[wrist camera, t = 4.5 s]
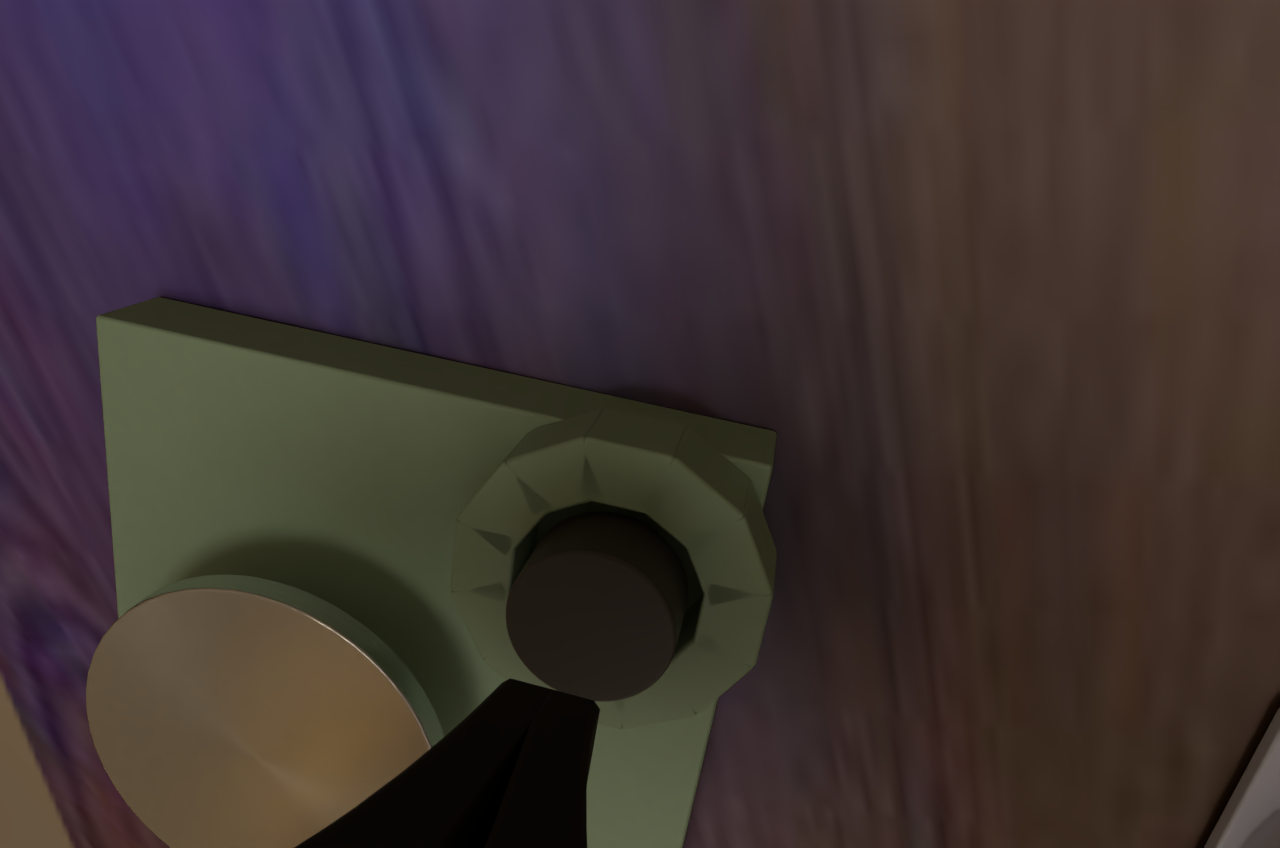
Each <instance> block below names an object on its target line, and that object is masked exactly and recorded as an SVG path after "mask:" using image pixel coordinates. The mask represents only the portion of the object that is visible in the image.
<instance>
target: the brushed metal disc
mask: <svg viewBox="0 0 1280 848" xmlns="http://www.w3.org/2000/svg"><path fill="white" fill-rule="evenodd" d="M86 710H87V716H88V722H89V728H90V731H91V735H92V738H93V741H94V745H95V748H96V750H97V753H98V755H99V757H100V759H101V762H102V764H103V766H104V768H105V770H106V772H107V774H108V775H109V777H110V779H111V781H112V782H113V784H114V786H115V788H116V789H117V790H118V792H119V793H120V795H121V796H122V797H123V799H124V800H125V802H126V803H127V804H128V806H129V807H130V808H131V809H132V810H133V812H134V813H135V814H136V815H137V816H138V817H139V819H140V820H141V821H142V822H143V823H144V824H145V825H146V826H147V827H148V828H149V829H150V830H151V831H152V832H153V833H154V834H155V835H156V836H157V837H158V838H159V839H161V840H162V841H163V842H164V843H166V844H167V845H168V846H169V847H170V848H294V847H296V846H297V845H299V844H300V843H302V842H304V841H305V840H307V839H308V838H310V837H312V836H313V835H315V834H316V833H318V832H319V831H321V830H322V829H324V828H325V827H327V826H328V825H330V824H331V823H333V822H334V821H336V820H337V819H339V818H340V817H342V816H343V815H345V814H346V813H347V812H349V811H350V810H352V809H353V808H355V807H356V806H357V805H359V804H360V803H361V802H363V801H364V800H365V799H367V798H368V797H369V796H371V795H372V794H373V793H375V792H376V791H377V790H379V789H380V788H381V787H383V786H384V785H385V784H387V783H388V782H389V781H391V780H392V779H393V778H395V777H396V776H397V775H399V774H400V773H401V772H403V771H404V770H405V769H406V768H408V767H409V766H410V765H411V764H412V763H414V762H415V761H416V760H417V759H418V758H420V757H421V756H422V755H423V754H424V753H426V752H427V751H428V750H429V749H430V748H432V747H433V746H434V745H435V744H436V743H438V742H439V741H440V740H441V739H442V738H443V737H444V733H443V729H442V726H441V724H440V721H439V719H438V717H437V714H436V712H435V710H434V707H433V705H432V703H431V702H430V700H429V698H428V697H427V695H426V693H425V691H424V690H423V688H422V686H421V685H420V683H419V682H418V680H417V679H416V678H415V676H414V675H413V674H412V672H411V671H410V670H409V668H408V667H407V666H406V664H405V663H404V662H403V661H402V660H401V659H400V658H399V657H398V656H397V655H396V653H395V652H394V651H393V650H392V649H391V648H390V647H389V646H388V645H387V644H386V643H385V642H384V641H383V640H381V639H380V638H379V637H378V636H377V635H376V634H375V633H373V632H372V631H371V630H370V629H369V628H368V627H366V626H365V625H364V624H362V623H361V622H359V621H358V620H357V619H355V618H354V617H352V616H351V615H350V614H348V613H347V612H345V611H343V610H342V609H340V608H338V607H336V606H335V605H333V604H331V603H329V602H328V601H326V600H324V599H322V598H320V597H317V596H315V595H313V594H311V593H308V592H306V591H304V590H302V589H299V588H296V587H293V586H290V585H287V584H284V583H280V582H277V581H274V580H269V579H264V578H258V577H253V576H244V575H230V574H222V575H206V576H200V577H195V578H190V579H185V580H181V581H178V582H175V583H173V584H170V585H167V586H165V587H162V588H161V589H159V590H157V591H155V592H154V593H152V594H150V595H149V596H147V597H145V598H144V599H143V600H141V601H140V602H139V603H137V604H136V605H135V606H133V607H132V608H131V609H129V610H128V611H127V612H126V613H125V614H123V615H122V616H121V617H120V618H119V619H118V620H116V621H115V622H114V623H113V625H112V626H111V627H110V628H109V630H108V631H107V632H106V633H105V635H104V636H103V638H102V640H101V641H100V643H99V645H98V647H97V649H96V651H95V653H94V655H93V658H92V662H91V665H90V668H89V671H88V678H87V686H86Z"/></svg>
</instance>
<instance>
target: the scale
mask: <svg viewBox="0 0 1280 848" xmlns="http://www.w3.org/2000/svg"><path fill="white" fill-rule="evenodd" d="M96 325H97V339H98V352H99V365H100V379H101V392H102V405H103V419H104V432H105V445H106V459H107V472H108V485H109V499H110V512H111V525H112V539H113V552H114V565H115V579H116V592H117V605H118V619H119V618H120V617H121V616H122V615H123V614H125V613H126V612H127V611H128V610H129V609H131V608H132V607H133V606H135V605H136V604H137V603H139V602H140V601H141V600H143V599H144V598H145V597H147V596H149V595H150V594H152V593H154V592H155V591H157V590H159V589H161V588H162V587H165V586H167V585H170V584H173V583H175V582H178V581H181V580H185V579H190V578H195V577H200V576H206V575H222V574H230V575H244V576H253V577H258V578H264V579H269V580H274V581H277V582H280V583H284V584H287V585H290V586H293V587H296V588H299V589H302V590H304V591H306V592H308V593H311V594H313V595H315V596H317V597H320V598H322V599H324V600H326V601H328V602H329V603H331V604H333V605H335V606H336V607H338V608H340V609H342V610H343V611H345V612H347V613H348V614H350V615H351V616H352V617H354V618H355V619H357V620H358V621H359V622H361V623H362V624H364V625H365V626H366V627H368V628H369V629H370V630H371V631H372V632H373V633H375V634H376V635H377V636H378V637H379V638H380V639H381V640H383V641H384V642H385V643H386V644H387V645H388V646H389V647H390V648H391V649H392V650H393V651H394V652H395V653H396V655H397V656H398V657H399V658H400V659H401V660H402V661H403V662H404V663H405V664H406V666H407V667H408V668H409V670H410V671H411V672H412V674H413V675H414V676H415V678H416V679H417V680H418V682H419V683H420V685H421V686H422V688H423V690H424V691H425V693H426V695H427V697H428V698H429V700H430V702H431V703H432V705H433V707H434V710H435V712H436V714H437V717H438V719H439V721H440V724H441V726H442V729H443V733H444V737H445V736H446V735H447V734H448V733H449V732H450V731H451V730H453V729H454V728H455V727H456V726H457V725H458V724H459V723H460V722H461V721H463V720H464V719H465V718H466V717H467V716H468V715H469V714H470V713H471V712H472V711H473V710H475V709H476V708H477V707H478V706H479V705H480V704H481V703H482V702H483V701H484V700H485V699H486V698H487V697H488V696H489V695H490V694H491V693H492V692H493V691H494V690H495V689H496V688H497V687H498V686H499V685H500V684H501V683H502V682H504V681H506V680H508V679H510V678H511V679H515V680H519V681H523V682H526V683H530V684H534V685H538V686H542V687H545V688H549V689H553V688H551V687H550V686H548V685H546V684H545V683H544V682H542V681H541V680H540V679H538V678H537V677H536V676H535V675H534V674H533V673H532V672H530V670H529V669H528V668H527V667H526V666H525V665H524V664H523V662H522V661H521V659H520V658H519V657H518V655H517V653H516V651H515V650H514V648H513V646H512V643H511V641H510V638H509V635H508V631H507V626H506V603H507V598H508V595H509V592H510V589H511V587H512V585H513V584H514V582H515V580H516V578H517V577H518V575H519V574H520V572H521V570H522V569H523V567H524V566H525V564H526V562H527V561H528V559H529V558H530V556H531V554H532V553H533V551H534V550H535V548H536V546H537V545H538V543H539V542H540V540H541V539H542V538H543V536H544V535H545V534H546V533H547V532H548V531H549V530H550V529H551V528H552V527H554V526H555V525H556V524H558V523H559V522H561V521H563V520H565V519H567V518H569V517H572V516H575V515H578V514H583V513H588V512H613V513H618V514H623V515H626V516H629V517H632V518H634V519H637V520H639V521H641V522H643V523H645V524H646V525H648V526H650V527H651V528H653V529H654V530H655V531H657V532H658V533H659V534H660V535H661V536H662V537H664V538H665V539H666V540H667V541H668V543H669V544H670V545H671V546H672V547H673V549H674V550H675V552H676V554H677V555H678V557H679V558H680V560H681V563H682V565H683V567H684V570H685V573H686V576H687V582H688V601H687V606H686V610H685V614H684V618H683V622H682V626H681V630H680V633H679V637H678V641H677V645H676V649H675V652H674V656H673V659H672V661H671V663H670V665H669V667H668V668H667V670H666V671H665V673H664V674H663V675H662V676H661V678H660V679H659V680H658V681H657V682H656V683H654V684H653V685H652V686H650V687H649V688H648V689H646V690H644V691H643V692H641V693H639V694H637V695H634V696H632V697H629V698H626V699H622V700H616V701H606V702H598V701H595V703H596V704H597V706H598V707H599V708H600V713H599V719H598V724H597V730H596V736H595V741H594V747H593V753H592V758H591V764H590V770H589V775H588V781H587V791H586V793H587V848H683V844H684V840H685V836H686V831H687V827H688V823H689V819H690V815H691V810H692V806H693V802H694V798H695V794H696V789H697V785H698V781H699V777H700V773H701V768H702V764H703V760H704V756H705V751H706V747H707V743H708V739H709V735H710V730H711V726H712V722H713V718H714V714H715V709H716V705H717V701H718V698H719V697H720V696H721V695H722V694H723V693H724V692H725V691H727V690H728V689H729V688H730V687H731V686H732V685H734V684H735V683H736V682H737V681H738V680H739V679H740V678H742V677H743V676H744V675H745V674H746V673H747V672H749V671H750V670H751V669H752V667H753V666H755V664H756V662H757V658H758V654H759V650H760V646H761V642H762V638H763V634H764V630H765V626H766V622H767V619H768V615H769V611H770V607H771V603H772V599H773V592H774V581H775V570H776V560H777V554H776V548H775V545H774V542H773V539H772V536H771V534H770V531H769V528H768V525H767V522H766V520H765V517H764V514H763V508H764V503H765V499H766V495H767V491H768V487H769V482H770V478H771V474H772V470H773V463H774V455H775V447H776V439H777V434H776V432H774V431H771V430H767V429H762V428H757V427H753V426H748V425H744V424H739V423H734V422H730V421H725V420H721V419H716V418H712V417H707V416H702V415H698V414H693V413H689V412H684V411H679V410H675V409H670V408H666V407H661V406H656V405H652V404H647V403H643V402H638V401H634V400H629V399H624V398H620V397H615V396H611V395H606V394H601V393H597V392H592V391H588V390H583V389H578V388H574V387H569V386H565V385H560V384H556V383H551V382H546V381H542V380H537V379H533V378H528V377H523V376H519V375H514V374H510V373H505V372H500V371H496V370H491V369H487V368H482V367H478V366H473V365H468V364H464V363H459V362H455V361H450V360H445V359H441V358H436V357H432V356H427V355H423V354H418V353H413V352H409V351H404V350H400V349H395V348H390V347H386V346H381V345H377V344H372V343H367V342H363V341H358V340H354V339H349V338H345V337H340V336H335V335H331V334H326V333H322V332H317V331H312V330H308V329H303V328H299V327H294V326H289V325H285V324H280V323H276V322H271V321H267V320H262V319H257V318H253V317H248V316H244V315H239V314H234V313H230V312H225V311H221V310H216V309H211V308H207V307H202V306H198V305H193V304H189V303H184V302H179V301H175V300H170V299H166V298H161V297H157V298H154V299H150V300H147V301H144V302H140V303H137V304H134V305H131V306H127V307H124V308H121V309H118V310H114V311H111V312H108V313H104V314H101V315H98V316H97V317H96ZM553 690H555V689H553Z"/></svg>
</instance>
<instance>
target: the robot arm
mask: <svg viewBox="0 0 1280 848" xmlns="http://www.w3.org/2000/svg"><path fill="white" fill-rule="evenodd" d="M599 713H600V708H599V707H598V706H597V704H596V703H595V701H594V700H591V699H587V698H583V697H579V696H576V695H572V694H568V693H564V692H561V691H557V690H553V689H549V688H545V687H542V686H538V685H534V684H530V683H526V682H523V681H519V680H515V679H511V678H510V679H508V680H506V681H504V682H502V683H501V684H500V685H499V686H498V687H497V688H496V689H495V690H494V691H493V692H492V693H491V694H490V695H489V696H488V697H487V698H486V699H485V700H484V701H483V702H482V703H481V704H480V705H479V706H478V707H477V708H476V709H475V710H473V711H472V712H471V713H470V714H469V715H468V716H467V717H466V718H465V719H464V720H463V721H461V722H460V723H459V724H458V725H457V726H456V727H455V728H454V729H453V730H451V731H450V732H449V733H448V734H447V735H446V736H445V737H443V738H442V739H441V740H440V741H439V742H438V743H436V744H435V745H434V746H433V747H432V748H430V749H429V750H428V751H427V752H426V753H424V754H423V755H422V756H421V757H420V758H418V759H417V760H416V761H415V762H414V763H412V764H411V765H410V766H409V767H408V768H406V769H405V770H404V771H403V772H401V773H400V774H399V775H397V776H396V777H395V778H393V779H392V780H391V781H389V782H388V783H387V784H385V785H384V786H383V787H381V788H380V789H379V790H377V791H376V792H375V793H373V794H372V795H371V796H369V797H368V798H367V799H365V800H364V801H363V802H361V803H360V804H359V805H357V806H356V807H355V808H353V809H352V810H350V811H349V812H347V813H346V814H345V815H343V816H342V817H340V818H339V819H337V820H336V821H334V822H333V823H331V824H330V825H328V826H327V827H325V828H324V829H322V830H321V831H319V832H318V833H316V834H315V835H313V836H312V837H310V838H308V839H307V840H305V841H304V842H302V843H300V844H299V845H297V846H296V847H294V848H587V793H586V791H587V781H588V775H589V770H590V764H591V758H592V753H593V747H594V741H595V736H596V730H597V724H598V719H599ZM1204 848H1280V708H1279V709H1278V710H1277V712H1276V714H1275V716H1274V718H1273V720H1272V721H1271V723H1270V725H1269V727H1268V729H1267V731H1266V733H1265V734H1264V736H1263V738H1262V740H1261V742H1260V744H1259V746H1258V748H1257V749H1256V751H1255V753H1254V755H1253V757H1252V759H1251V761H1250V762H1249V764H1248V766H1247V768H1246V770H1245V772H1244V774H1243V776H1242V777H1241V779H1240V781H1239V783H1238V785H1237V787H1236V789H1235V790H1234V792H1233V794H1232V796H1231V798H1230V800H1229V802H1228V803H1227V805H1226V807H1225V809H1224V811H1223V813H1222V815H1221V817H1220V818H1219V820H1218V822H1217V824H1216V826H1215V828H1214V830H1213V831H1212V833H1211V835H1210V837H1209V839H1208V841H1207V843H1206V845H1205V846H1204Z"/></svg>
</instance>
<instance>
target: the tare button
mask: <svg viewBox="0 0 1280 848" xmlns="http://www.w3.org/2000/svg"><path fill="white" fill-rule="evenodd" d="M687 601H688V582H687V576H686V573H685V570H684V567H683V565H682V563H681V560H680V558H679V557H678V555H677V554H676V552H675V550H674V549H673V547H672V546H671V545H670V544H669V543H668V541H667V540H666V539H665V538H664V537H662V536H661V535H660V534H659V533H658V532H657V531H655V530H654V529H653V528H651V527H650V526H648V525H646V524H645V523H643V522H641V521H639V520H637V519H634V518H632V517H629V516H626V515H623V514H618V513H613V512H588V513H583V514H578V515H575V516H572V517H569V518H567V519H565V520H563V521H561V522H559V523H558V524H556V525H555V526H554V527H552V528H551V529H550V530H549V531H548V532H547V533H546V534H545V535H544V536H543V538H542V539H541V540H540V542H539V543H538V545H537V546H536V548H535V550H534V551H533V553H532V554H531V556H530V558H529V559H528V561H527V562H526V564H525V566H524V567H523V569H522V570H521V572H520V574H519V575H518V577H517V578H516V580H515V582H514V584H513V585H512V587H511V589H510V592H509V595H508V598H507V603H506V626H507V631H508V635H509V638H510V641H511V643H512V646H513V648H514V650H515V651H516V653H517V655H518V657H519V658H520V659H521V661H522V662H523V664H524V665H525V666H526V667H527V668H528V669H529V670H530V672H532V673H533V674H534V675H535V676H536V677H537V678H538V679H540V680H541V681H542V682H544V683H545V684H546V685H548V686H550V687H551V688H553V689H555V690H557V691H561V692H564V693H568V694H572V695H576V696H579V697H583V698H587V699H591V700H594V701H598V702H606V701H616V700H622V699H626V698H629V697H632V696H634V695H637V694H639V693H641V692H643V691H644V690H646V689H648V688H649V687H650V686H652V685H653V684H654V683H656V682H657V681H658V680H659V679H660V678H661V676H662V675H663V674H664V673H665V671H666V670H667V668H668V667H669V665H670V663H671V661H672V659H673V656H674V652H675V649H676V645H677V641H678V637H679V633H680V630H681V626H682V622H683V618H684V614H685V610H686V606H687Z"/></svg>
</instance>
